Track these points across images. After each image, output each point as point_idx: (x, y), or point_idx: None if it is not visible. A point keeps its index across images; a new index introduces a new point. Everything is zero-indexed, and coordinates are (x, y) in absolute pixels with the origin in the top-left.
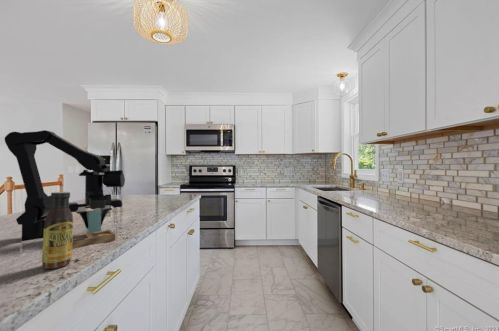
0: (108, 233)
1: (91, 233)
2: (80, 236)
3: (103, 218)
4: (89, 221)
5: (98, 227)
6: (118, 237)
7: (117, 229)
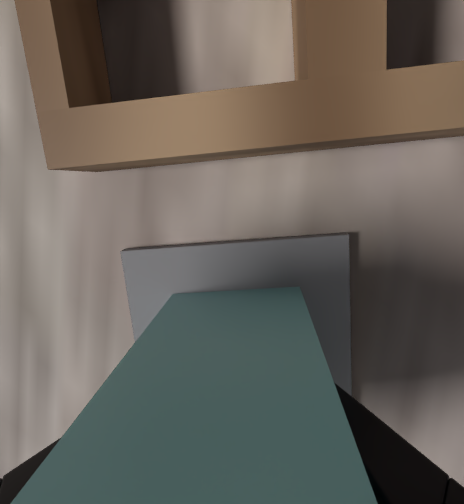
0: (82, 84)
1: (300, 83)
2: (451, 69)
3: (23, 470)
4: (326, 402)
5: (177, 330)
6: (8, 44)
7: (11, 415)
